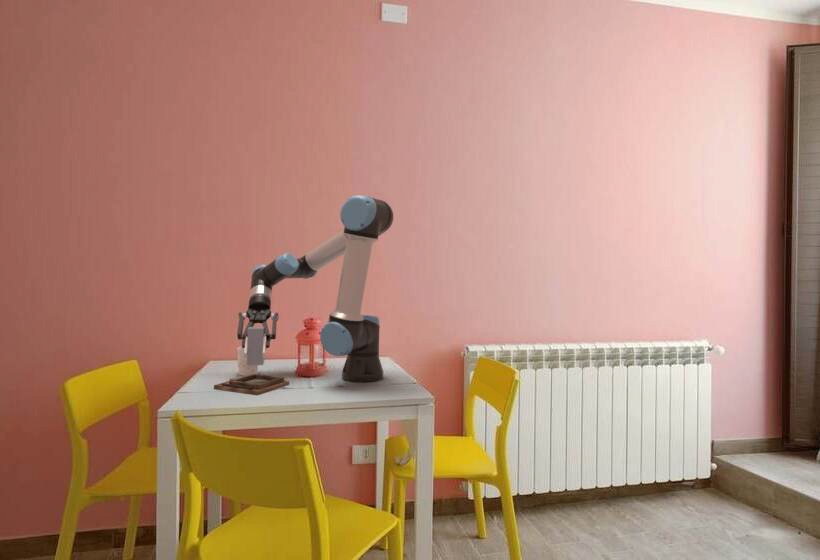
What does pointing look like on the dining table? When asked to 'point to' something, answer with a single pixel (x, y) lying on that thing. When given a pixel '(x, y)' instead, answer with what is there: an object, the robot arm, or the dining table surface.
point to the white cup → (245, 364)
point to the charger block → (255, 345)
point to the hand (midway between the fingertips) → (254, 355)
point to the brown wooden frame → (252, 384)
